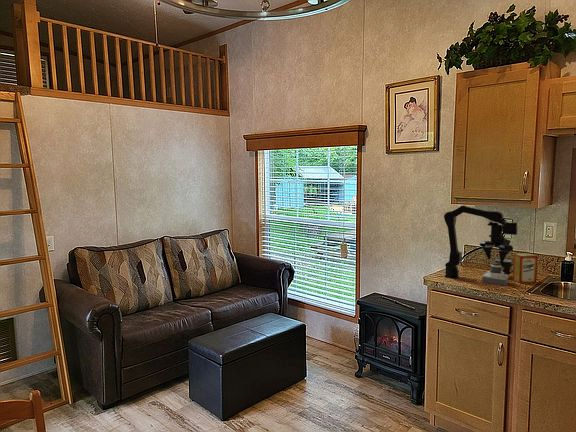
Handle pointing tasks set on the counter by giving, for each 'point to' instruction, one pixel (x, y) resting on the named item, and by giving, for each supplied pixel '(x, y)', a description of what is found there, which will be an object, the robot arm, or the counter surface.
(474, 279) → the counter surface
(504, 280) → the octagonal ring tray
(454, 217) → the robot arm
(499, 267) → the lens
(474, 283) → the counter surface
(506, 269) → the coffee mug
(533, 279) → the baking soda box
